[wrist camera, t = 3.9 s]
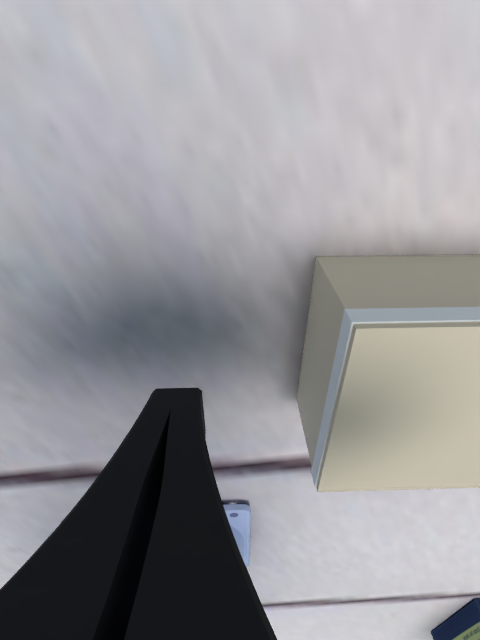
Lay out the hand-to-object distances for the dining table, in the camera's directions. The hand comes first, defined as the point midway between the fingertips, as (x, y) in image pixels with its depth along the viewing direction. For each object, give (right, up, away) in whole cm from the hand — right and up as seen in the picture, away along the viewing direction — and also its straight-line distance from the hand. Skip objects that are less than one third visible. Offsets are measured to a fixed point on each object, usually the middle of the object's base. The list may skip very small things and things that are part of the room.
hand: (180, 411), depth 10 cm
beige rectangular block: (+9, +2, +3) cm, 10 cm away
